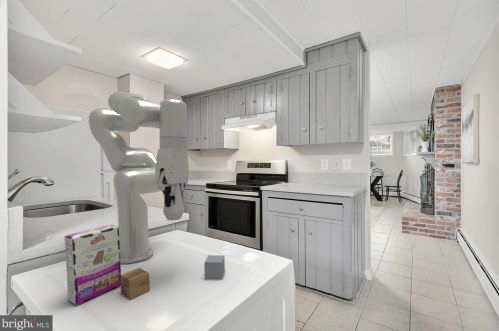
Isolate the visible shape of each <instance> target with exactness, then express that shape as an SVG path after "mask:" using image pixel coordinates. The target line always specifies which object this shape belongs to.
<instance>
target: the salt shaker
mask: <svg viewBox="0 0 499 331" xmlns="http://www.w3.org/2000/svg"><path fill="white" fill-rule="evenodd" d="M179 181H180V180H179ZM167 187H168V188H169V189H170V187H169V186H167ZM174 195H175V204H174V203H173V200H172V201H171V206H170V207H166V206H164V205H163V209H162V212H163V214H164V216H165V218H166V220H167V221H179V220H181V219H182V217H183V215H184V213H185V207H184V206H185V205H184V199H183V200H182V195H181V189H180V183H179V184H174ZM174 195H173V196H174Z"/></svg>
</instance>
